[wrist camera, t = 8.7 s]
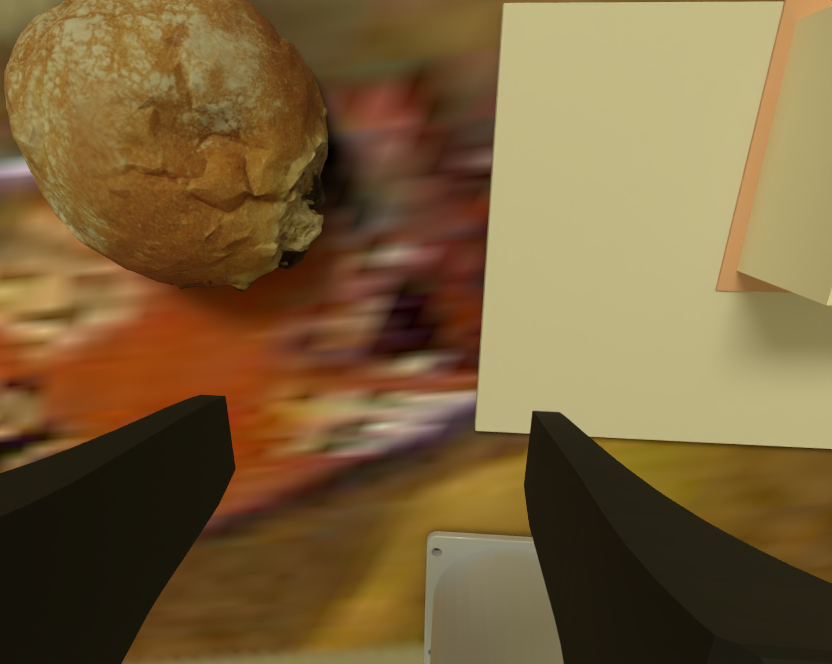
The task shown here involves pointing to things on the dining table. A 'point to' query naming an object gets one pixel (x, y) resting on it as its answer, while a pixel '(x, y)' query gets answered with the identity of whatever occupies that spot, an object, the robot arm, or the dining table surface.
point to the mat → (643, 229)
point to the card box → (797, 173)
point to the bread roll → (172, 135)
